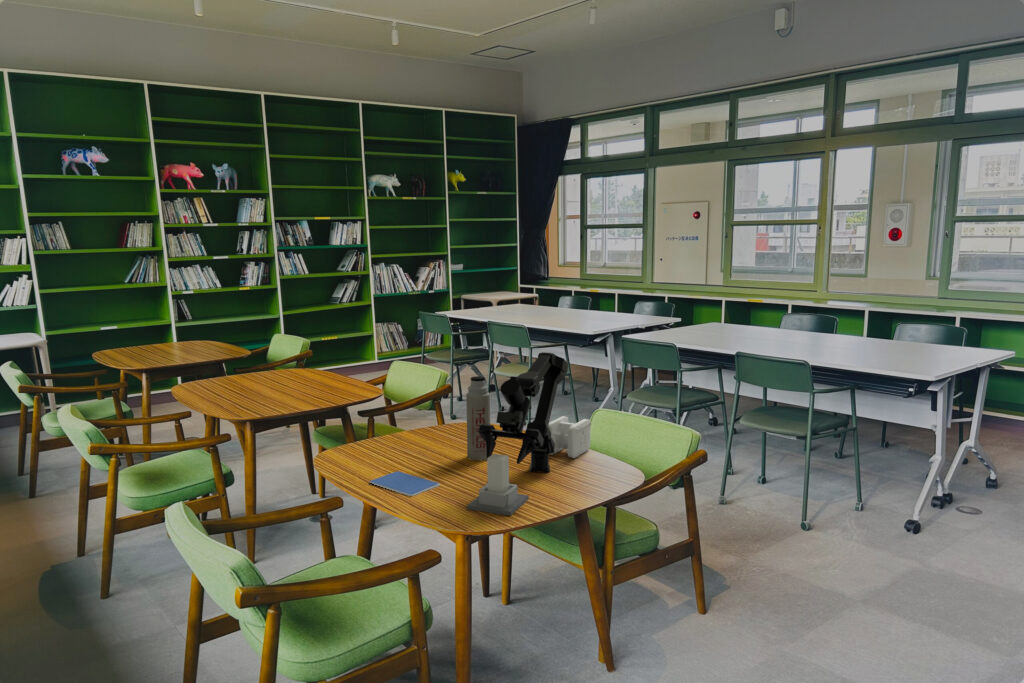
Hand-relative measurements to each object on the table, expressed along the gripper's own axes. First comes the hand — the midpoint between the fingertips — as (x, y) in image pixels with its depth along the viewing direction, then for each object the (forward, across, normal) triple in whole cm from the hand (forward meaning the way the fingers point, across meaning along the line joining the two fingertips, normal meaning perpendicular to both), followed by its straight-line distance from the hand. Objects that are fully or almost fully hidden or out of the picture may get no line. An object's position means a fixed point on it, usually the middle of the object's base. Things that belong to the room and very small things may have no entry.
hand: (502, 461), depth 190 cm
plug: (+10, 0, +5) cm, 11 cm away
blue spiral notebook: (+8, -33, +9) cm, 35 cm away
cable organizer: (-26, +3, +43) cm, 51 cm away
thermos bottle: (-15, -24, +32) cm, 42 cm away
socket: (+10, 0, +6) cm, 12 cm away
